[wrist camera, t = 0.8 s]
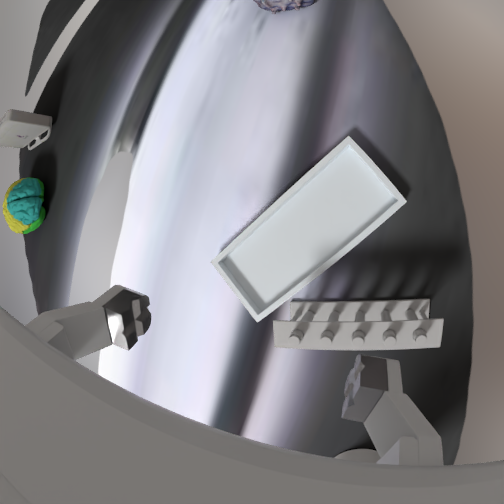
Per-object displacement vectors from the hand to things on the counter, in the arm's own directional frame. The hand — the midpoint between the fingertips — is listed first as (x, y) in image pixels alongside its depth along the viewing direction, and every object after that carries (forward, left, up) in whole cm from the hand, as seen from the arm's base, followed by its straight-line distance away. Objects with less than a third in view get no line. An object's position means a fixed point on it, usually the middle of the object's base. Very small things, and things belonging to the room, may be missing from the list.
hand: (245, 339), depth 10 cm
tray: (+5, +3, -41) cm, 42 cm away
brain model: (+70, +63, -41) cm, 103 cm away
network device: (+93, +49, -41) cm, 113 cm away
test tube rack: (-12, +4, -42) cm, 43 cm away
